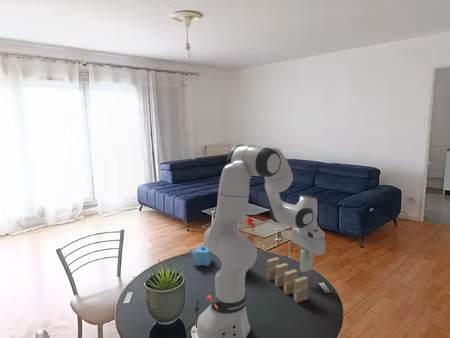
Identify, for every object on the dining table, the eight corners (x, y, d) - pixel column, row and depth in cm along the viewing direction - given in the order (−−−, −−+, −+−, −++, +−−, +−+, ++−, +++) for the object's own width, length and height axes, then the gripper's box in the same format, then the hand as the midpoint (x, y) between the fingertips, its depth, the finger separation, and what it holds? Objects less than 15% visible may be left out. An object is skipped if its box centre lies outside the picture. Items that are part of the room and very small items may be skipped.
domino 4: (307, 299, 135) (307, 277, 133) (296, 302, 132) (296, 281, 130) (304, 296, 136) (304, 275, 135) (293, 300, 134) (293, 279, 132)
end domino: (312, 269, 147) (313, 249, 146) (302, 272, 145) (303, 252, 143) (309, 267, 149) (310, 248, 147) (299, 270, 146) (300, 250, 145)
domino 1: (279, 277, 153) (279, 258, 152) (269, 280, 151) (268, 261, 149) (276, 275, 155) (276, 257, 153) (266, 278, 152) (266, 259, 151)
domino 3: (297, 291, 141) (297, 270, 139) (286, 294, 138) (286, 274, 137) (294, 289, 143) (294, 269, 141) (283, 292, 140) (283, 272, 138)
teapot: (212, 271, 161) (211, 253, 159) (186, 270, 163) (185, 253, 161) (217, 256, 179) (216, 239, 177) (193, 255, 180) (192, 239, 179)
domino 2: (287, 283, 147) (287, 264, 145) (277, 287, 144) (277, 267, 143) (285, 281, 149) (285, 262, 147) (274, 285, 146) (274, 265, 145)
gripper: (287, 223, 151) (287, 249, 154) (317, 237, 133) (316, 267, 135) (298, 221, 154) (297, 247, 156) (328, 234, 136) (326, 264, 138)
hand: (306, 256), depth 146 cm, fingers closed on end domino, 2 cm apart
